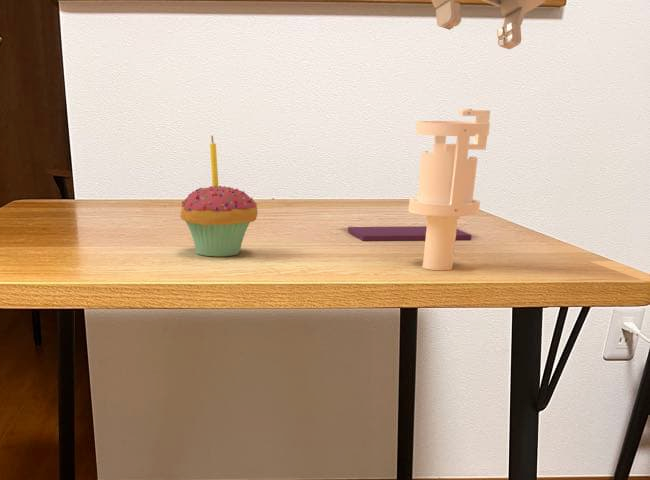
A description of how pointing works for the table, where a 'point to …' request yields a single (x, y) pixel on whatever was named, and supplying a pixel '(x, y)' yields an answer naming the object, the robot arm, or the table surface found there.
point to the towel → (397, 233)
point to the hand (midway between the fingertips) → (480, 36)
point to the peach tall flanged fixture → (448, 183)
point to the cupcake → (218, 216)
